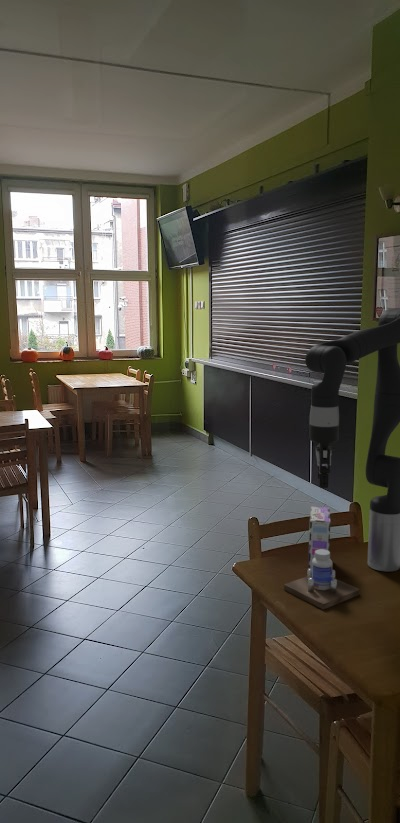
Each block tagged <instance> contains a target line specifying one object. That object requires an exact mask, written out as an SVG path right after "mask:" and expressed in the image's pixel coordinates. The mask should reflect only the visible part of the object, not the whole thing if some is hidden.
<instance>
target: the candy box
mask: <svg viewBox="0 0 400 823" xmlns="http://www.w3.org/2000/svg"><path fill="white" fill-rule="evenodd" d="M308 533H309V534H308V535H309V536H308V568H312V560H313V559H314V558H315V551H316V550H318V549H324V550H328V551H329V552H330V544H331V543H330V540H331V511H330V507H325V506H310V515H309V532H308Z"/></svg>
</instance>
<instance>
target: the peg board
mask: <svg viewBox="0 0 400 823" xmlns="http://www.w3.org/2000/svg"><path fill="white" fill-rule="evenodd" d="M335 579H336V580H337V591H336V594H332V593H330V589H329V590H317V589H315V588H314V592H308V582H307V575H306V576H303V577H301V578H298V579H295V580H293V581H290V582H287V583H284V585H283V590H284V591H285V592H288V593H290V594H292V595H294V596H295V597H298V598H299V599H301V600H303V601H305V602H308V603H309V604H311V605H313V606H315V607H317V608H319V609H322V610H323V611H324V610H326V609H328V608H331V607H333V606H336V605H339V604H340V603H343V602H345V601H347V600H351V599H353V598H354V597H357V596H359V595H360V588H357V587H355V586H353V585H350V584H348V583H347V582H344V581H342V580H339V579H338V578H335Z"/></svg>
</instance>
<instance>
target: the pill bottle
mask: <svg viewBox="0 0 400 823" xmlns="http://www.w3.org/2000/svg"><path fill="white" fill-rule="evenodd" d="M332 570H333V561H332V559H331V551H330V550H329V551H328V550H324V549H318V550H316V551H315V558H314V559H313V560H312V577H313V578H314V588H315V589H317V590H329V589H330V584H331V579H332Z"/></svg>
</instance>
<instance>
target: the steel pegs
mask: <svg viewBox="0 0 400 823" xmlns="http://www.w3.org/2000/svg"><path fill="white" fill-rule="evenodd" d="M306 573H307V575H306V576H307V582H308V592H314V578H313V577H312V568H309V567H308V568H307V572H306ZM336 579H337V578H336V570H335V569H332V579H331V584H330V593H332V594H336V591H337V580H338V579H337V580H336Z"/></svg>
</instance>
